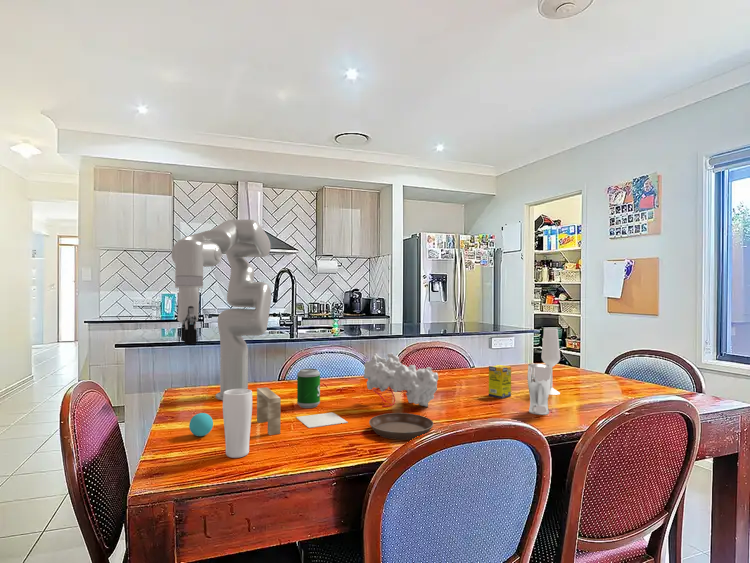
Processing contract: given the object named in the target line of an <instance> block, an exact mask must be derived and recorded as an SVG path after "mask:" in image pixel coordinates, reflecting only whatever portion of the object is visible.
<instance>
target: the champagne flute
mask: <svg viewBox="0 0 750 563" xmlns="http://www.w3.org/2000/svg"><path fill="white" fill-rule="evenodd" d="M559 341H560V340H559V332H558V328H556V327H555V328H554V327H553V328H551V327H548V328H546V327H545V328H543V335H542V346H541V347H542V348H541V361H542V362H543V364H547V365H550V376H551V382H550V390H549V395H554V396H555V395H557V396H558V395H560V394H561V392H559V391H558V390H557V389H555V388H554V387H553V368H554V367H555V366H556V365H557V364H559V362H560V361H561V351H560V343H559Z"/></svg>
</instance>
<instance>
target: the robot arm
mask: <svg viewBox="0 0 750 563" xmlns="http://www.w3.org/2000/svg"><path fill="white" fill-rule="evenodd" d="M271 247H272V246H271V241H270V239H269V236H268V235H267V233H266V232H265V230H264V229H263V227H262V226H261V225H260V223H258V222H257V220H254V219H228V220H225V221H223V222H222V223H219V224H218V225H217V226H215V227H214V228H212V229H209V230H205V231H201V232H198V233H194V234H190V235H187V236H184V237H183V238H181V239H179V240H177V241H176V242H175V244H174V245H173V246H172V248H171V259H172V261H173V262H174V264H175V265H174V266H175V268H174V269H175V270H174V272H175V273H174V281H175V282H174V287H175V289H178V297H177V298H178V300H177V321H178V322H179V323H181V326H182V327H181V328H180V329H181V331H180V332H181V333H180V335H181V336H180V339H181V342H183V344H184V345H196V344H197V339H198V337H197V336H198V334H197V333H198V332H197V331H198V329H197V322H198V321H199V310H200V308H199V307H200V305H199V304H200V298H199V297H200V289H203V288H204V267H206V268H207V267H214V266H217V265H218V264H219V263H220V262H221V260H222V258H223V255H222V254H225V255H226V258H227V261H228V263H229V267H230V275H229V281H228V282H229V283H228V287H227V293H226V301H227V304H228V305H229V306H231V307H234V308H228V309H224V310H222V311H221V312H220V313H219V315H218V317H217V328H218V333H219V340H220V341H219V342H220V343H219V344H220V346H219V348H220V351H219V352H220V354H219V355H220V356H219V358H220V359H219V360H220V361H219V362H220V363H219V364H220V370H219V371H220V372H219V374H220V378H219V379H220V380H219V381H220V383H219V384H220V385H219V389H220V390H219V391H220V392H217V393H216V394H215V399H217V400H220V401H223V392H225V391H227V390H231V389H248V388H249V376H248V375H249V347H248V344H247V342H246V340H244V338H243V336H248V337H249V336H250V337H251V336H254V337H255V336H256V337H257V336H262V335H264V334H265V333H266V332H267V328H268V325H269V319H270V318H269V317H270V311H271V302H272V291H271V287H270V285H269V284H268V283H267V282H264V281H254V277H255V270H254V267H253V266H252V265H251V264H250V263H249V262H248V261H247V260H246V258H265V257H267V256H268V255H269V254H270V251H271Z"/></svg>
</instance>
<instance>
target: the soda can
mask: <svg viewBox="0 0 750 563" xmlns="http://www.w3.org/2000/svg"><path fill="white" fill-rule="evenodd" d="M296 378H297V380H296V384H297V386H296V388H297V389H296V390H297V391H296V398H297V399H296V400H297V401H296V402H297V406H299V407H300V408H301V409H313V408H316V407H318V405H320V403H321V372H320V371H319V370H318V368H317V369H316V368H301V369H300V370H299V371H298V372H297V377H296Z"/></svg>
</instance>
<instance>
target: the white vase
mask: <svg viewBox="0 0 750 563" xmlns="http://www.w3.org/2000/svg"><path fill="white" fill-rule="evenodd" d="M550 382H551V376H550V365H547V364H545V363H528V365H527V387H528V394H529V409H528V412H529V413H530V414H533V415H536V416H545V415H546V416H547V415H549V414H550V408H549V403H548V402H549V401H548V400H549V395H550V394H549V390H550Z"/></svg>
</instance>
